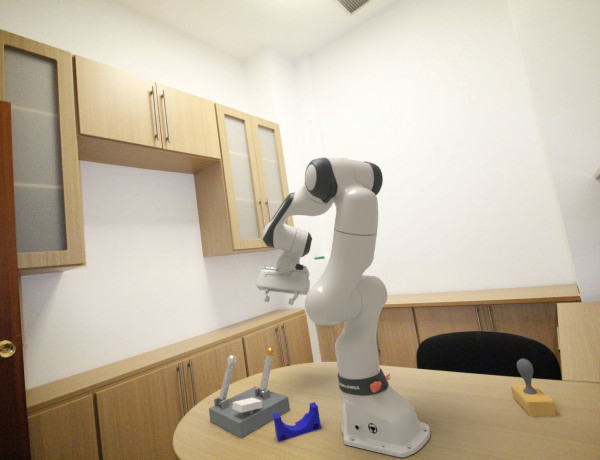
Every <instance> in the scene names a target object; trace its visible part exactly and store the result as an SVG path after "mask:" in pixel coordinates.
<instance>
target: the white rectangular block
mask: <svg viewBox="0 0 600 460" xmlns="http://www.w3.org/2000/svg"><path fill="white" fill-rule="evenodd" d="M259 408H262V401H261V400H258V399H255V398H248V399H244V400H239V401H235V402H233V408H232V409H234V410H237V411H239V412H241V413H243V412H247V411H251V410H255V409H259Z"/></svg>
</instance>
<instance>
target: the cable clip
mask: <svg viewBox="0 0 600 460" xmlns="http://www.w3.org/2000/svg"><path fill="white" fill-rule="evenodd" d="M319 412H320V411H319V406H318V404H316V402H315V401H313V402H310V403H309V409H308V412H306V413H304V415H303V417H301V418H300V419H299V420H298V421H295V422H294V424H295V425H290V424H287V423H285V422H284V421H283V420H282V416H281V415H279V413H275V414H273V417H274V419H273V423H274V431H275V438H276V439H277V442H278V443H280V442H283V441H286V440H290V439H293V438H297V437H299V436H302V435H305V434H309V433H311V432H314V431H318V430H321V429H322V425H321V418H320V413H319Z"/></svg>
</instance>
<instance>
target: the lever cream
mask: <svg viewBox="0 0 600 460" xmlns="http://www.w3.org/2000/svg"><path fill="white" fill-rule="evenodd" d="M226 362H227V364H226V368H225V372H224V376H223V380H222V384H221V388H220V392H219V396H218V397H219V399H218V400H217V404H218V405H220V406H221V402H222V401H224V400H226V399H227V397H228V393H229V389H230V383H231V379H232V375H233V371H234V366H235V363H236V362H237V357H236V356H235V355H234V354H230V355H228V357H227V360H226Z"/></svg>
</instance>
